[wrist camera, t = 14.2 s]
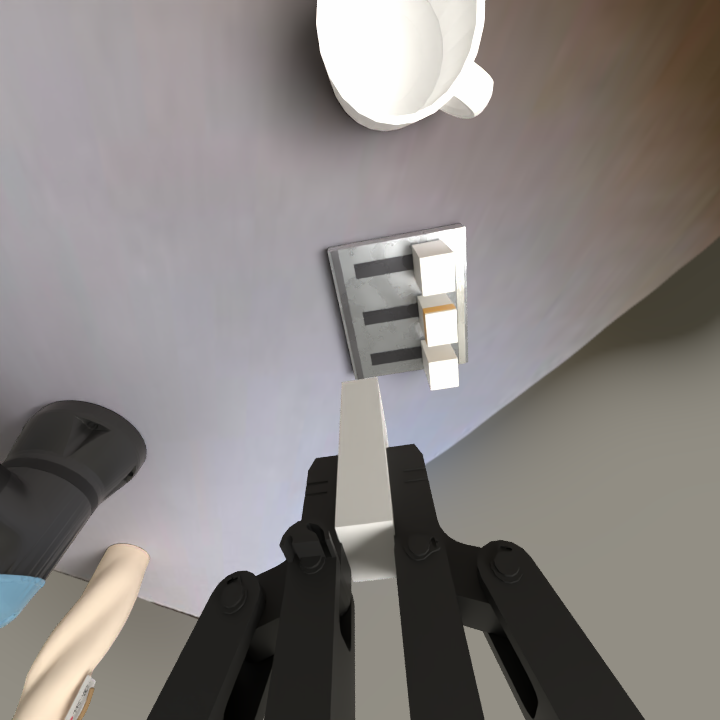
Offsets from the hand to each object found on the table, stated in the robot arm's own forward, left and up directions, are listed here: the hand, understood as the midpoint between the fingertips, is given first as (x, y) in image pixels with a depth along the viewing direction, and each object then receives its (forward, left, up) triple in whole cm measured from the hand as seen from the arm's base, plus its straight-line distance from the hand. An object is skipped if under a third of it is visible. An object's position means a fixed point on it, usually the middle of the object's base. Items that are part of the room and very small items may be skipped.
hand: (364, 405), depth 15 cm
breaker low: (+7, -12, -24) cm, 28 cm away
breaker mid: (+7, -7, -24) cm, 26 cm away
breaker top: (+7, -2, -24) cm, 25 cm away
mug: (+6, +14, -27) cm, 31 cm away
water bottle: (-52, -48, -27) cm, 76 cm away
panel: (+4, -7, -26) cm, 28 cm away
